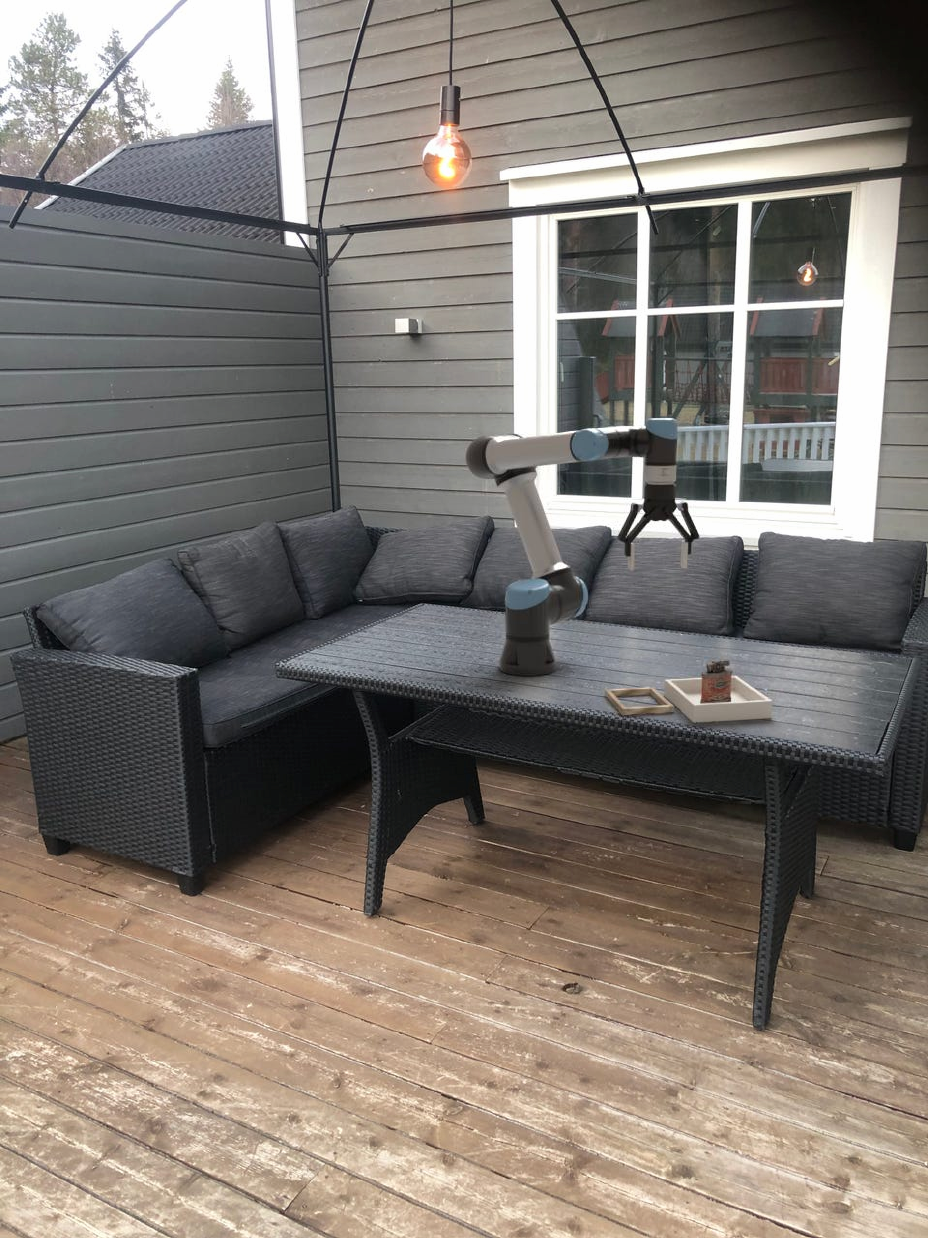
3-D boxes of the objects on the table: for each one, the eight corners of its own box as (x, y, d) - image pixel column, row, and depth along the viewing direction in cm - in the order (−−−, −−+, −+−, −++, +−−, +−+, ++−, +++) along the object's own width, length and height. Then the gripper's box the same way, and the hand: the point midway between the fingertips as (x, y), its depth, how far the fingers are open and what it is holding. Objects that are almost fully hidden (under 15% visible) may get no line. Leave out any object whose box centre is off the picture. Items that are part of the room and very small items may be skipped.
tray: (693, 722, 214) (694, 705, 213) (664, 695, 233) (664, 679, 232) (771, 718, 216) (772, 701, 215) (735, 691, 235) (736, 675, 234)
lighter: (706, 706, 221) (707, 664, 219) (696, 702, 224) (698, 661, 222) (734, 701, 224) (736, 660, 222) (724, 697, 227) (726, 657, 225)
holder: (622, 715, 219) (622, 709, 219) (605, 695, 234) (605, 689, 234) (673, 712, 221) (673, 706, 220) (653, 692, 235) (653, 687, 235)
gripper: (614, 485, 230) (612, 572, 235) (715, 482, 233) (711, 569, 238) (606, 482, 238) (604, 567, 242) (703, 480, 241) (700, 564, 245)
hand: (657, 568), depth 240 cm, fingers open, 13 cm apart
